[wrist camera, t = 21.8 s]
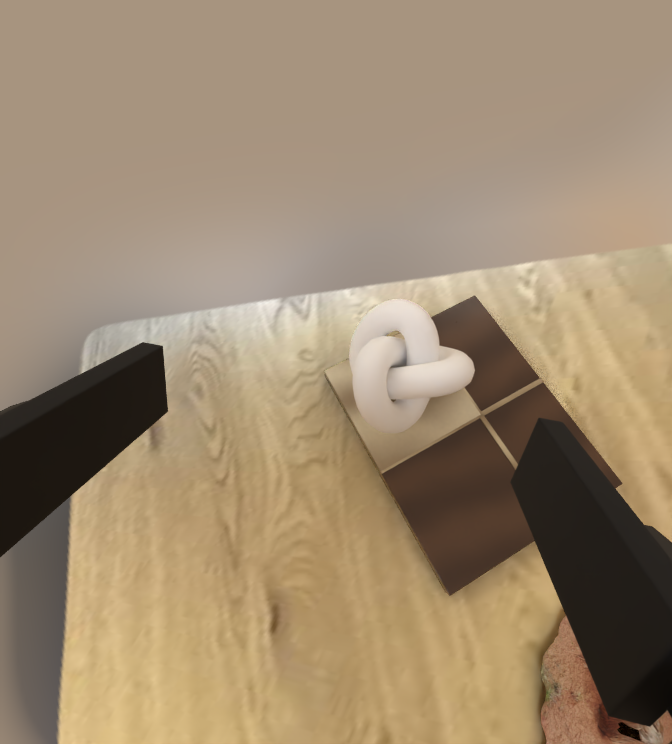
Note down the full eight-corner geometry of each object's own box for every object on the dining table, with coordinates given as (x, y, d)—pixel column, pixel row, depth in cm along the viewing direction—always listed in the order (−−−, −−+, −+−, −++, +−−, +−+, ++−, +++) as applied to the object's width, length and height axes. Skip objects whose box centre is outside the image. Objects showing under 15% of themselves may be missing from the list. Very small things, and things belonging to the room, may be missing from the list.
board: (324, 375, 40) (324, 370, 39) (470, 302, 43) (475, 294, 42) (445, 592, 33) (450, 596, 31) (612, 484, 36) (624, 483, 34)
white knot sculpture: (422, 464, 35) (448, 451, 27) (316, 408, 37) (309, 379, 29) (465, 369, 39) (499, 331, 30) (365, 322, 41) (372, 275, 32)
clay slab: (614, 895, 26) (648, 944, 23) (475, 721, 30) (489, 744, 27) (718, 725, 29) (760, 750, 26) (581, 586, 33) (604, 594, 30)
